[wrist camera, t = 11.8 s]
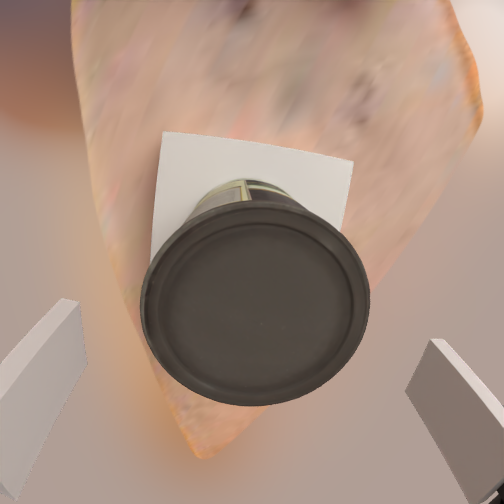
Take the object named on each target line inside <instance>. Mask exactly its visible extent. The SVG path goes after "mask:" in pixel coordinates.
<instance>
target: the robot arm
mask: <svg viewBox="0 0 504 504" xmlns="http://www.w3.org/2000/svg"><path fill="white" fill-rule="evenodd" d="M86 366H87V359H86V352H85V344H84V337H83V329H82V321H81V311H80V302H78V301H73V300H68V299H64V298H61V299H60V300H59V301H58V302H57V303H56V304H55V305H54V306H53V307H52V308H51V309H50V310H49V311H48V312H47V313H46V314H45V315H44V316H43V318H41V319H40V321H39V322H38V323H37V324H36V325H35V326H34V327H33V328H32V329H31V330H30V331H29V332H28V333H27V334H26V335H25V337H24V338H23V339H22V340H21V341H20V342H19V343H18V344H17V345H16V346H15V347H14V349H13V350H12V351H11V352H10V353H9V354H8V355H7V357H6V358H5V359H4V360H3V361H2V362H1V363H0V493H1V494H4V495H5V496H7V497H9V498H11V499H13V500H15V501H18V498H19V496H20V494H21V492H22V489H23V487H24V485H25V483H26V480H27V478H28V476H29V474H30V472H31V469H32V467H33V465H34V463H35V461H36V459H37V457H38V455H39V453H40V451H41V449H42V447H43V445H44V443H45V441H46V439H47V437H48V435H49V433H50V431H51V429H52V427H53V425H54V423H55V421H56V420H57V418H58V416H59V413H60V412H61V410H62V408H63V406H64V405H65V403H66V401H67V399H68V397H69V396H70V394H71V392H72V390H73V388H74V387H75V385H76V383H77V381H78V379H79V378H80V376H81V374H82V373H83V371H84V369H85V367H86ZM405 392H406V394H407V395H408V397H409V399H410V400H411V402H412V404H413V405H414V407H415V408H416V410H417V412H418V414H419V415H420V417H421V418H422V420H423V422H424V424H425V425H426V427H427V429H428V430H429V432H430V434H431V436H432V437H433V439H434V441H435V442H436V444H437V446H438V448H439V449H440V451H441V453H442V455H443V456H444V458H445V460H446V462H447V464H448V465H449V467H450V469H451V471H452V473H453V474H454V476H455V478H456V480H457V482H458V484H459V485H460V487H461V489H462V491H463V493H464V495H465V497H466V499H467V500H468V502H469V504H480V503H482V502H484V501H486V500H487V499H488V498H489V497H490V496H491V495H492V494H493V493H494V492H495V491H496V490H497V491H498V493H499V494H498V495H497V496H496V497H495V498H494V499H493V500H492V501H491V502H490V503H489V504H504V406H503V405H502V404H501V403H500V402H499V401H498V400H497V399H496V398H495V396H494V395H493V394H492V393H491V392H490V390H489V389H488V388H487V387H486V386H485V385H484V384H483V382H482V381H481V380H480V379H479V378H478V377H477V375H476V374H475V373H474V372H473V371H472V370H471V369H470V368H469V367H468V365H467V364H466V363H465V362H464V361H463V360H462V359H461V358H460V356H459V355H458V354H456V352H455V351H454V350H453V349H452V348H451V347H450V346H449V345H448V344H447V342H446V341H445V340H444V339H430V340H429V342H428V345H427V347H426V349H425V351H424V354H423V356H422V358H421V360H420V362H419V364H418V366H417V368H416V370H415V372H414V374H413V376H412V378H411V380H410V382H409V384H408V386H407V388H406V390H405Z"/></svg>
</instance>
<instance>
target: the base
mask: <svg viewBox="0 0 504 504" xmlns="http://www.w3.org/2000/svg"><path fill="white" fill-rule="evenodd" d="M353 165H354V162H353V161H349V160H345V159H340V158H336V157H331V156H327V155H322V154H317V153H312V152H307V151H302V150H297V149H292V148H286V147H281V146H275V145H269V144H263V143H257V142H251V141H244V140H237V139H230V138H223V137H215V136H207V135H198V134H189V133H179V132H168V131H163V136H162V143H161V150H160V158H159V166H158V174H157V183H156V192H155V203H154V214H153V226H152V239H151V255H150V264H151V262H152V260H153V258H154V256H155V255H156V253H157V252H158V251H159V249H160V248H161V246H162V245H163V244H164V243H165V242H166V240H167V239H168V238H169V237H170V236H171V235H172V234H173V233H174V232H175V231H176V230H178V229H179V228H180V227H181V226H182V224H183V223H184V222H185V221H186V219H187V218H188V217H189V215H190V214H191V213H192V212H193V210H194V208H195V207H196V205H197V204H198V202H199V201H200V200H201V199H202V198H203V197H204V196H205V195H206V194H207V193H208V192H209V191H211V190H212V189H213V188H215V187H217V186H219V185H221V184H223V183H225V182H228V181H231V180H235V179H241V178H253V179H260V180H264V181H267V182H270V183H273V184H275V185H277V186H278V187H280V188H282V189H283V190H285V191H286V192H287V193H288V194H289V195H290V196H291V197H292V198H293V199H294V200H296V201H297V202H298V203H299V204H301V205H302V206H303V207H305V208H306V209H307V210H309V211H310V212H312V213H314V214H316V215H317V216H319V217H321V218H323V219H324V220H325V221H327V222H328V223H330V224H331V225H332V226H333V227H335V228H336V229H337V230H338V231H339V232H340V230H341V225H342V221H343V216H344V211H345V207H346V202H347V197H348V192H349V186H350V181H351V176H352V170H353Z"/></svg>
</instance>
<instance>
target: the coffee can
mask: <svg viewBox="0 0 504 504" xmlns="http://www.w3.org/2000/svg"><path fill="white" fill-rule="evenodd" d="M369 309H370V289H369V283H368V279H367V275H366V272H365V269H364V266H363V264H362V261H361V259H360V258H359V256H358V254H357V253H356V251H355V249H354V248H353V246H352V245H351V244H350V243H349V241H348V240H347V239H346V237H345V236H344V235H343V234H341V233H340V232H339V231H338V230H337V229H336V228H335V227H333V226H332V225H331V224H330V223H328V222H327V221H325V220H324V219H323V218H321V217H319V216H317V215H316V214H314V213H312V212H310V211H309V210H307V209H306V208H305V207H303V206H302V205H301V204H299V203H298V202H297V201H296V200H294V199H293V198H292V197H291V196H290V195H289V194H288V193H287V192H286V191H285V190H283V189H282V188H280V187H278V186H277V185H275V184H273V183H270V182H267V181H264V180H260V179H253V178H241V179H235V180H231V181H228V182H225V183H223V184H221V185H219V186H217V187H215V188H213V189H212V190H211V191H209V192H208V193H207V194H206V195H205V196H204V197H203V198H202V199H201V200H200V201H199V202H198V204H197V205H196V207H195V208H194V210H193V212H192V213H191V214H190V215H189V217H188V218H187V219H186V221H185V222H184V223H183V224H182V226H181V227H180V228H179V229H178V230H176V231H175V232H174V233H173V234H172V235H171V236H170V237H169V238H168V239H167V240H166V242H165V243H164V244H163V245H162V246H161V248H160V249H159V251H158V252H157V253H156V255H155V256H154V258H153V260H152V262H151V264H150V266H149V268H148V270H147V273H146V275H145V278H144V281H143V285H142V290H141V297H140V316H141V323H142V328H143V332H144V335H145V338H146V341H147V343H148V345H149V347H150V349H151V351H152V353H153V354H154V356H155V357H156V359H157V360H158V362H159V363H160V364H161V366H162V367H163V368H164V369H165V370H166V371H167V372H168V373H169V374H170V375H171V376H172V377H173V378H174V379H176V380H177V381H178V382H179V383H181V384H182V385H184V386H185V387H187V388H188V389H190V390H191V391H193V392H195V393H197V394H199V395H202V396H204V397H206V398H209V399H212V400H214V401H217V402H221V403H225V404H230V405H238V406H265V405H272V404H278V403H283V402H286V401H290V400H293V399H296V398H299V397H301V396H303V395H306V394H308V393H310V392H312V391H314V390H315V389H317V388H319V387H320V386H322V385H323V384H324V383H326V382H327V381H329V380H330V379H331V378H332V377H333V376H335V375H336V374H337V373H338V372H339V371H340V370H341V369H342V368H343V367H344V365H345V364H346V363H347V362H348V361H349V359H350V358H351V357H352V356H353V354H354V353H355V351H356V350H357V347H358V346H359V344H360V342H361V340H362V338H363V335H364V332H365V330H366V326H367V322H368V316H369Z"/></svg>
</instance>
